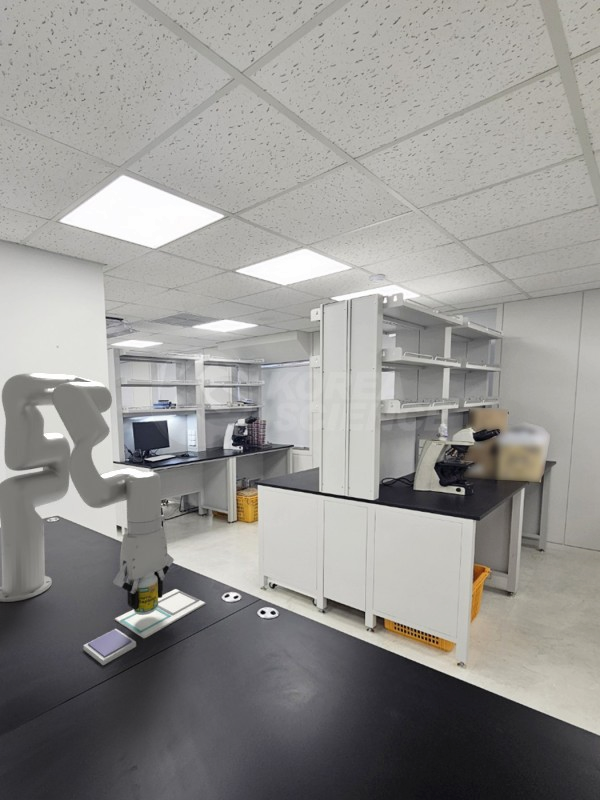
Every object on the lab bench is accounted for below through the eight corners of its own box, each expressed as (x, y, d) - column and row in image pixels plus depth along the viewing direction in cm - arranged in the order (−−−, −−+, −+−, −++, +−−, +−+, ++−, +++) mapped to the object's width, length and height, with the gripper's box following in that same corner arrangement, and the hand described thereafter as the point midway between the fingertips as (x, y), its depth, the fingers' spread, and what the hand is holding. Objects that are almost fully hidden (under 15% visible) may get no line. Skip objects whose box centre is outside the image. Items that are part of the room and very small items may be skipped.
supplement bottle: (155, 600, 96) (154, 562, 95) (160, 611, 91) (160, 570, 91) (131, 607, 93) (131, 567, 92) (136, 618, 88) (135, 576, 88)
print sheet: (115, 620, 92) (115, 618, 92) (175, 590, 106) (175, 588, 106) (144, 638, 85) (144, 636, 85) (205, 604, 99) (205, 602, 99)
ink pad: (83, 649, 81) (83, 643, 81) (116, 632, 87) (115, 627, 87) (103, 665, 77) (103, 658, 77) (136, 646, 82) (136, 640, 82)
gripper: (166, 513, 101) (167, 582, 101) (99, 533, 87) (101, 613, 87) (184, 518, 96) (185, 591, 97) (117, 540, 82) (119, 624, 83)
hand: (145, 600), depth 92 cm, fingers closed on supplement bottle, 5 cm apart
